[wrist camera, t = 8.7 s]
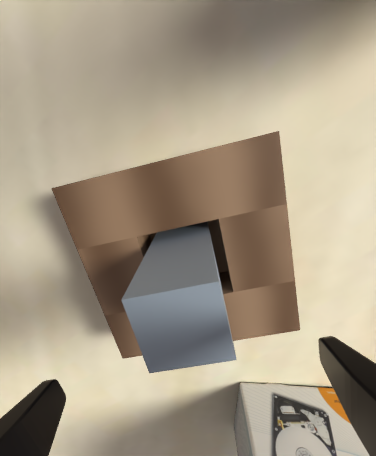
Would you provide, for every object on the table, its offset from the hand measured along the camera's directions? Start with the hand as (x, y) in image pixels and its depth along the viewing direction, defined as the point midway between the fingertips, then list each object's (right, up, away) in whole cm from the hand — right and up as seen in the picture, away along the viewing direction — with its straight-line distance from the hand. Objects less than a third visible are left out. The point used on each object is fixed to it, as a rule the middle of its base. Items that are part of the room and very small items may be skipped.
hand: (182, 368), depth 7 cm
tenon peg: (0, +3, +10) cm, 11 cm away
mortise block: (0, +3, +11) cm, 12 cm away
